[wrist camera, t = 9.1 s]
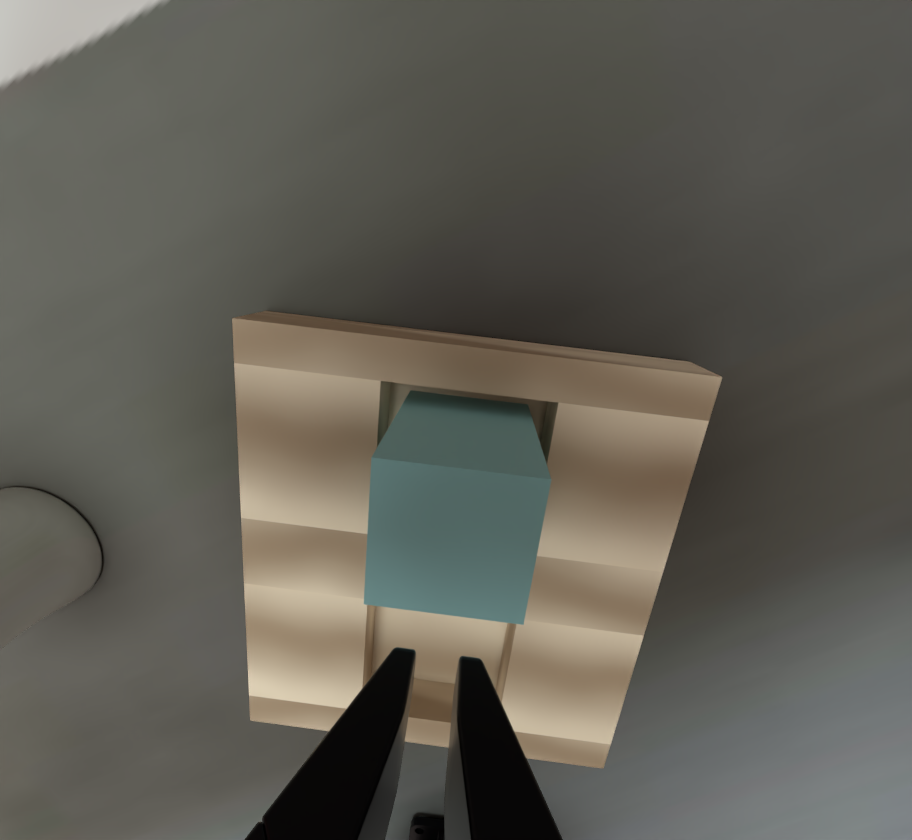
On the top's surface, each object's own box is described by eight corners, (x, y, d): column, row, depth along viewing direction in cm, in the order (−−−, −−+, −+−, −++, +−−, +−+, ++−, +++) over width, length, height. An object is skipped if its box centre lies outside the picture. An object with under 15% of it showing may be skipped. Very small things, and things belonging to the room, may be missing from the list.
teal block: (510, 508, 19) (523, 624, 13) (402, 495, 19) (363, 604, 13) (527, 404, 18) (551, 479, 11) (410, 390, 18) (371, 457, 12)
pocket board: (591, 716, 23) (603, 768, 21) (274, 674, 23) (250, 720, 21) (689, 361, 17) (722, 377, 15) (266, 310, 18) (232, 317, 15)
